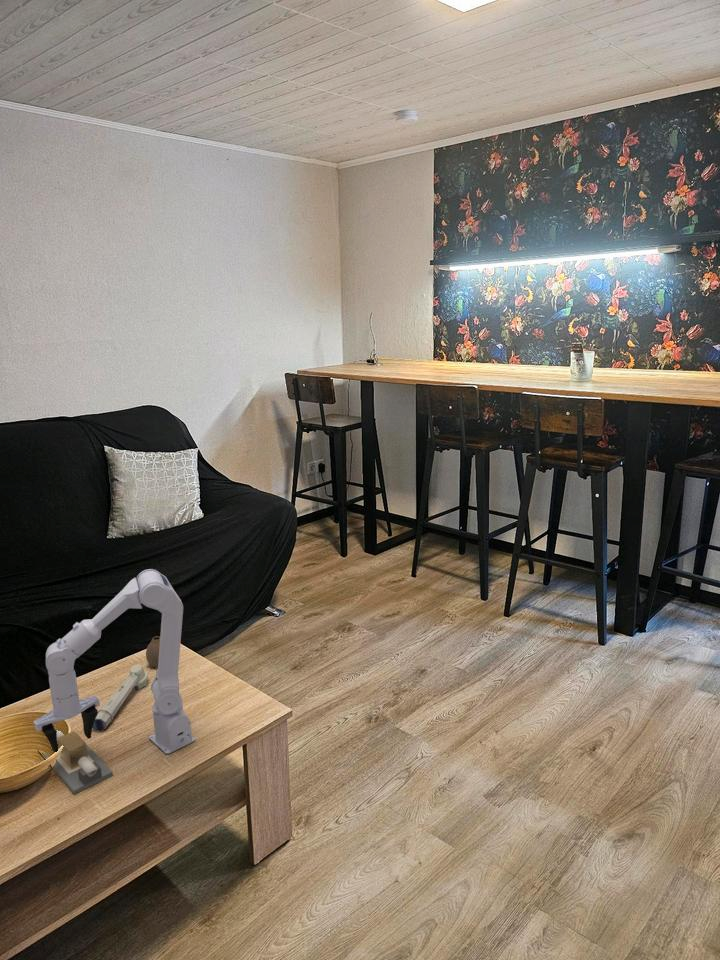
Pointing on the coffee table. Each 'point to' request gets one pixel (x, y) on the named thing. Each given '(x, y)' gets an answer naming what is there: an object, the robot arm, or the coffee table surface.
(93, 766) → the coupling bed
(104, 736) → the coffee table surface
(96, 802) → the coffee table surface
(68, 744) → the block
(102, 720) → the grey long handheld tool
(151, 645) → the vase
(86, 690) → the coffee table surface
